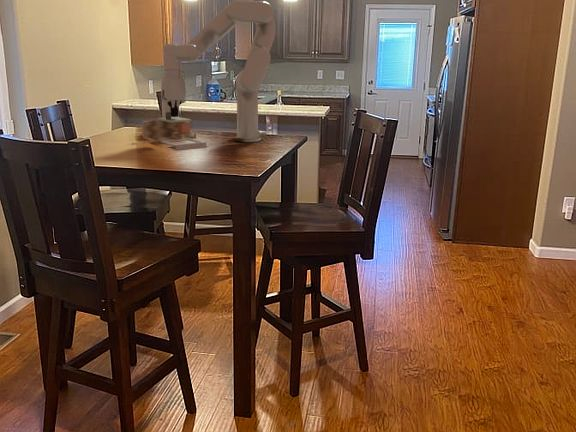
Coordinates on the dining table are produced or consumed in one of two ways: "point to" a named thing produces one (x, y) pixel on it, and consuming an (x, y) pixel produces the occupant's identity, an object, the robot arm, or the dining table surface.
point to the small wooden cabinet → (163, 131)
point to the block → (183, 127)
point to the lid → (173, 118)
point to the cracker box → (166, 109)
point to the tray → (185, 146)
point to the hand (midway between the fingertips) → (174, 116)
